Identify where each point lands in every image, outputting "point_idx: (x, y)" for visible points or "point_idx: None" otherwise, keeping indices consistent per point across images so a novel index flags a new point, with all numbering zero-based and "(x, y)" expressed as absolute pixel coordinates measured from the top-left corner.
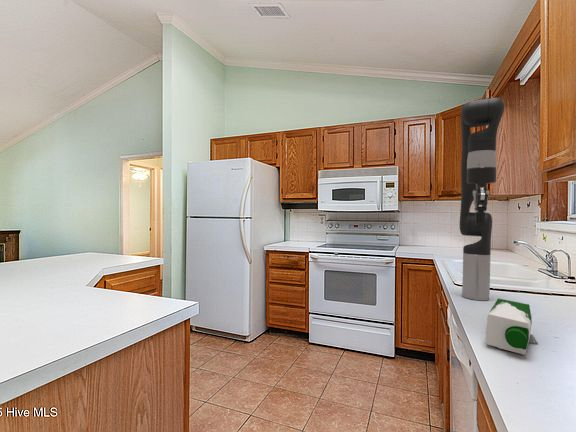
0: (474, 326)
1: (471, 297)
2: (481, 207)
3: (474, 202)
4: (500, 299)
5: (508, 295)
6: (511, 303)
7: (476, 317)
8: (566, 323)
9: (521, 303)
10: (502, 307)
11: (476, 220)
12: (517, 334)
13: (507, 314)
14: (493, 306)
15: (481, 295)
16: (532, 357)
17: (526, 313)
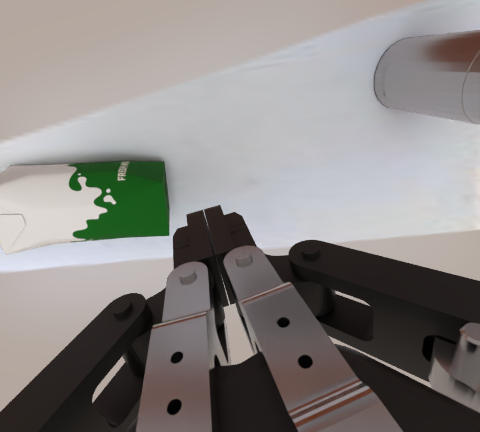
0: (134, 121)
1: (379, 69)
2: (123, 355)
3: (150, 343)
4: (146, 190)
5: (457, 137)
6: (108, 218)
7: (212, 111)
8: (287, 241)
9: (152, 226)
10: (52, 209)
11: (189, 229)
12: None
13: (6, 225)
14: (114, 176)
15: (384, 94)
16: None
17: (96, 239)
